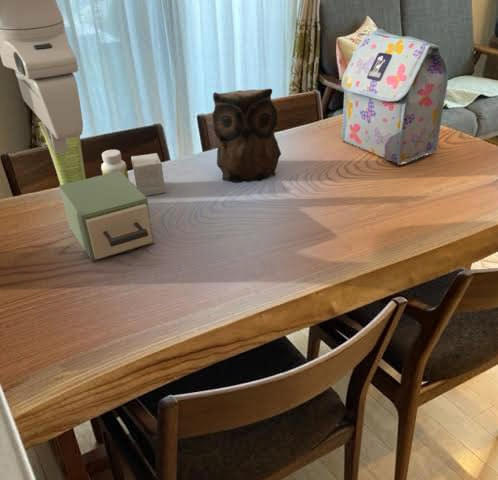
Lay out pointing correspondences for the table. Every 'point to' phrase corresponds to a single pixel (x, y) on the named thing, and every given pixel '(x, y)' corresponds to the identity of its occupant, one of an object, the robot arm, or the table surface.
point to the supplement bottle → (113, 162)
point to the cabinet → (98, 202)
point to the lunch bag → (394, 96)
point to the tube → (67, 160)
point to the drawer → (119, 230)
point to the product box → (148, 174)
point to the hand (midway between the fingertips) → (59, 149)
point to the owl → (246, 135)
